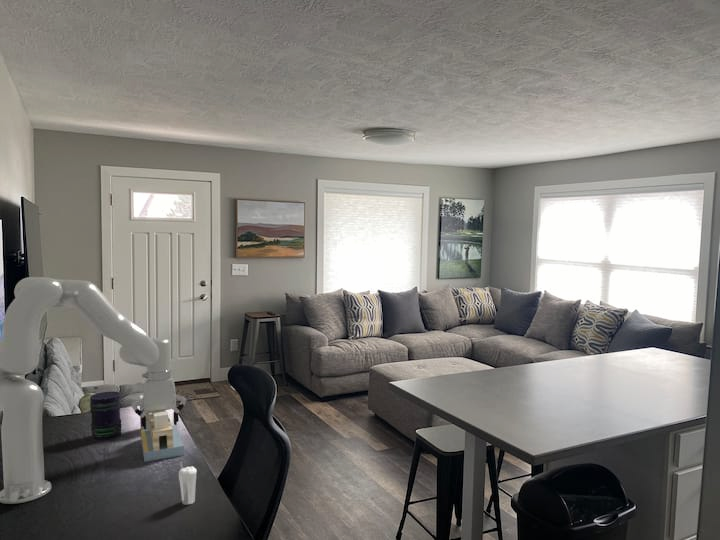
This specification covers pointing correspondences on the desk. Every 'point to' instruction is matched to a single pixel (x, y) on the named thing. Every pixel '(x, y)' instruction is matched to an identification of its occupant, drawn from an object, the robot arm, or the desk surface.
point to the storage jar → (105, 416)
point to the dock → (161, 446)
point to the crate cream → (161, 420)
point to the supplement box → (145, 415)
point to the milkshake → (187, 484)
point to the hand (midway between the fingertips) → (160, 426)
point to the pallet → (160, 434)
